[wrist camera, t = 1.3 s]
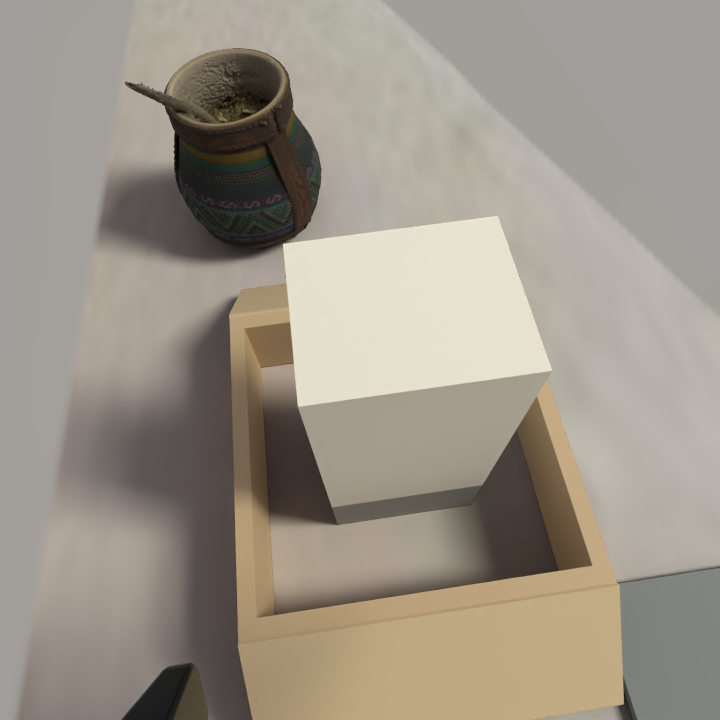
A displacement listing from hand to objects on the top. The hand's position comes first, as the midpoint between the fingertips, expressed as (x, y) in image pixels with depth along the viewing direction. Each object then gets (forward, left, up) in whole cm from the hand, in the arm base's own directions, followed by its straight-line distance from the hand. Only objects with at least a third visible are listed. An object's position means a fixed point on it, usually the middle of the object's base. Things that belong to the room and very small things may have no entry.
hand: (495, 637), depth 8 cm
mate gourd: (+22, +5, -13) cm, 26 cm away
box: (+7, 0, -13) cm, 15 cm away
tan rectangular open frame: (+7, 0, -13) cm, 15 cm away
